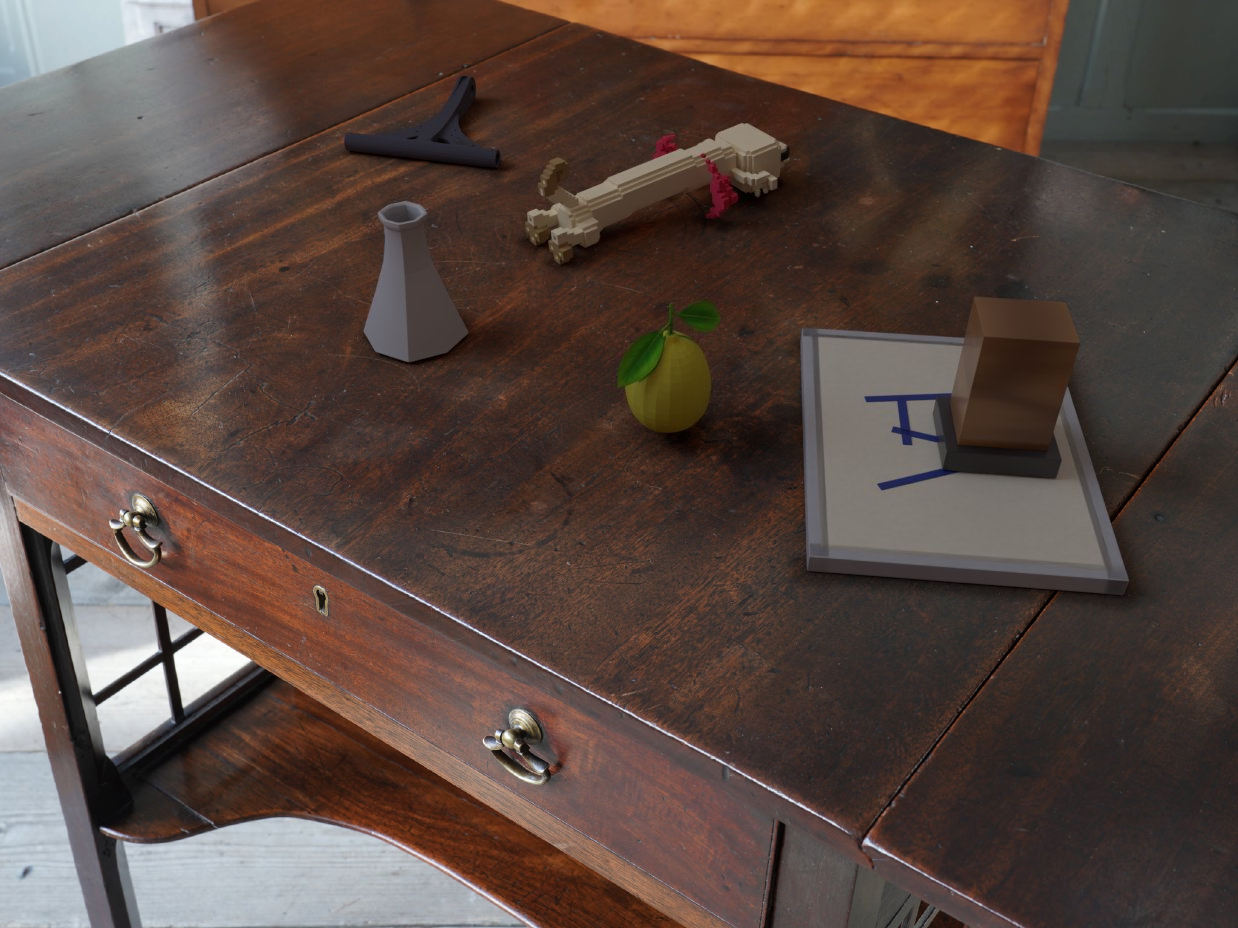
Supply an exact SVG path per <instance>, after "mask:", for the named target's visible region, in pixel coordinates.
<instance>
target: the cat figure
mask: <svg viewBox="0 0 1238 928" xmlns="http://www.w3.org/2000/svg"><path fill="white" fill-rule="evenodd" d="M673 140H676V135H675V134H667V135H663V136H661V139H658V140H657V141H656V142H655V147H656V148H655V153H654V154H653V155H652V159H651V160H648V161H646V162H643V163H641V164H638V165H636V166H633V167H631V168H629V169H626V170H623V171H621V172H618V173H616V174H613V175H611V176H608V177H606V179H605V180H604V181H603V182H602V183H600V184H597V185H594V186H592V187H590V188H588V189H585V190H582V191H579V192H577V193H576V194H575V195H574V194H573V193H571V192H569V191H567V190H566V189H564V188H563V187H561V182H562V181H565V180H567V179H568V177H567V176H568V175H570V163H569V162H567V161H566V160H564V159H563V158H561V157H560V156H558V157H555V158H552V159H550V160H548V164H546V165H545V168H544V169H543V170H542V174H540V175H539V177H540V182H537V187H538V188H537V189H538V194H539V195H540V196H542V197H543V198H545V199H547V200H548V201H550V202H552V203H554V204H553V205H552V206H551V207H550V209H549V210H545V209H541V210H539V209H537V208H535V209H532V210H530V211H529V210H528V211H527V212H526V217H527V220H526V221H525V222H524V229H525V233H526V234H528V235H529V240H530V242H531V243H532V244H533V245H534V246H536V247H537V246H539V245H542V244H544V243H546V240H547V242H548V249H549V250H548V251H549V252H551V253H552V254H553V260H554V261H555V262H556V263H557V264H558V265H563V264H566V263H568V262H570V261H571V259H573V258H574V252H573V247H574V246H576V245H579V246H580V247H581V246H582V247H583V248H584V249H586V248H588V247H590V246H593V245H595V244H597V243H598V242H599V241H600V239H601V233H600V232H602V230H604V228H607V227H609V226H611V225H614V224H617V223H619V222H622V221H623V220H626V219H628V218H630V216H632V215H633V214H634V213H635V212H637V211H639V210H642V209H644V208H647V207H650V206H651V205H654V204H656V203H658V202H661V201H664V200H666V199H668V198H671V197H673V196H676V195H677V194H681V193H682V194H683V195H686V194H688V193H690V192H692V191H695V190H698V189H699V188H703V187H704V186H707V185H709V193H710V194H712V195H711V197H712V199H711V200H712V204H713V205H714V206H711V207H709V213H706V214H705V218H706V219H707V220H709V219H711V220H713V219H716V217H718V218H720V217H722V216H723V212H725V211H727V210H729V209H730V206H732V205H734V204H736V203H737V202H738V201H739V194H738V193H736V192H734V188H737V189H739V190H740V191H742V192H743V193H745V194H746V193H750V194H753V193H754V197H756V198H759V197H760V196H761V190H762V193H764V194H768V193H769V190H770V191H774V190H776V189H778V178H780V176H781V169H782V168H784V167H785V164H787V163H789V162H790V160H791V159H790V146H788V145H787V144H785V143H784V142H783V141H779V140H777V139H776V138H775V137H773V136H771V135H769V134H768V133H766V132H764V131H763V130H760V129H759V128H756V127H755V126H753V125H752V124H751V123H747V122H746V123H743V122H741V123H739V124H736V125H734V126H731V127H728V128H726V129H724V130H721V131H718V132H717V133H716V134H715V136H714V140H713V139H712V138H707V139H704V140H703V141H702V142H699V143H697V144H696V145H694V146H692V147H689V148H687V149H683V148H679V147H677V143H676V142H672V141H673ZM671 142H672V143H671ZM732 186H733V187H732ZM553 226H554V227H556V228H554V229H552V230H551V231H550V235H551V239H550V237H549V236H550V235H549V228H552V227H553ZM549 239H550V240H549Z"/></svg>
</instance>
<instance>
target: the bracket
mask: <svg viewBox="0 0 1238 928" xmlns="http://www.w3.org/2000/svg"><path fill="white" fill-rule="evenodd" d="M476 83H477V82H476V79H475V78H474V76H468V75H459V76H458V77H457V79H456V82H455V84H454V86H453V88H452V90H451V92H450V94H449V97H448V98H447V100H446V102H445V104H444V105H443V107H442V109H441V111H440V112H438V113H437V114H435V115H433V116H432V117H430V118H429V119H426V120H425V121H422V122H421V123H419V124H417V125H416V124H415V125H413V126H410V127H406V128H403V129H399V130H396V131H391V132H385V133H378V134H367V133H358V132H351V131H350V132H349V131H347V132H346V133H345V135H344V140H343V145H344V149H345V150H346V151H349V152H357V153H367V154H374V155H383V156H391V157H398V158H407V159H416V160H422V161H423V160H425V161H433V162H440V163H448V164H449V163H450V164H457V165H458V164H459V165H465V166H474V167H483V168H491V169H498V168H499V166H500V164H501V151H500V150H499V149H495V148H488V147H483V146H481V145H479V144H477V143H476V142H474V141H473V140H471V139H470V138H469V137H468V136H466V135H465V133H463V132H462V129H461V127H460V124H459V123H460V120H461V119H462V118H463V116H465V114H466V113H467V111H469V109H470V108H471V106H472V105H473V104H474V102H475V99H476V96H477V95H476V93H477V84H476Z"/></svg>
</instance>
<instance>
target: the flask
mask: <svg viewBox="0 0 1238 928" xmlns="http://www.w3.org/2000/svg"><path fill="white" fill-rule="evenodd" d="M428 214H429V213H428V212H427V211H426V210H425V208H424V207H423V205H422V204H418V203H415V202H411V201H408V200H404V201H400V202H394V203H390V204H387V205H386V206H385V207H383V208H382V209H380V210H379V211H377V217H378V219H379V221H380V223H381V224H382V226H383V231H384V248H383V261H382V266H381V268H380V269H381V270H380V273H379V277H378V281H377V284H376V288H375V291H374V296H373V299H372V302H371V305H370V308H369V311H368V314H367V317H366V321H365V325H364V328H363V333H364V335H365V337H366V338H367V340H368V342H369V344H370V345H371V347H372V348H373V350H374V352H376V353H378V354H382V355H385V356H388V357H390V358H394V359H396V360H400V361H403V362H407V363H412V362H415V361H416V362H417V361H420V360H423V359H428V358H431V357H435V356H439V355H443V354H446V353H448V352H450V351H451V350H452V349H453V348H454V347H455V346H456V345H457V344H458V343H459V342H461V341H462V339H463V338H465V337H466V336H467V335H468V334H469V330H468V329H467V327H466V325H465V323H464V321H463V319H462V317H461V316H460V313H459V311H458V309H457V308H456V306H455V304H454V301H453V300H452V298H451V297H450V295H449V293H448V291H447V288H446V287H445V285H444V283H443V280H442V278H441V276H440V274H439V272H438V270H437V268H436V266H435V264H434V261H433V258H432V256H431V252H430V249H429V246H428V242H427V238H426V230H425V229H426V228H425V222H427V221H428V218H429V215H428Z"/></svg>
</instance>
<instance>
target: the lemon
mask: <svg viewBox="0 0 1238 928" xmlns="http://www.w3.org/2000/svg"><path fill="white" fill-rule="evenodd" d="M668 306H669V309H668V315H669V316H668V319H669V320H668V322H667V324H666V325H665V326H664V327H662V328H661V329H659V330H654V331H652V332H651V331H650V332H647V333H645V334H643V335H640V337H638V338H637V339H636V340H634V341H633V342H632V343H631V345H630V346H629V348H627V350H626V352H625V353H624V354H623V357H622V360H621V361H620V364H619V366H618V369H617V388H619V389H620V388H623V387H624V391H625V397H626V401H627V404H628V407H629V409H630V411H631V413H632V414H633V416H634V417H635V418H636V420H637V421H638V422H639V423H640V424H641V425H643V426H644V427H645V428H647V429H648V430H650V431H653V432H657V433H664V434H665V433H666V434H669V433H670V434H671V433H679V432H682V431H685V430H688V429H690V428H691V427H693V426H694V425H695V424H696V423H697V422H698V421H700V419H701V418H702V417H703V416H704V415H705V413H706V411H707V408H708V407H709V402H710V396H711V391H712V375H711V371H710V367H709V364H708V361H707V359H706V355H705V354H704V351H703V350H702V349H701V347H700V346H699V344H698V343H697V342H696V341H695V340H694V339H693V338H692V337H690V336H689V335H687V334H685V333H684V332H680V331H676V330H674V315H676V316H677V317H678V318H680V319H681V320H682V321H683V322H684V323H685V324H686V325H688V326H689V327H691V328H692V329H693V330H695V331H698V332H701V333H705V334H706V333H711V332H713V331H714V330H716V329H717V327H718V325H719V323H720V322H721V320H722V317H721V316H720V313H719V311H718V309H717V307H716V306H715V304H713V302H711V301H709V300H700V301H699V300H698V301H696V302H693V303H690V304H689V305H687V306H686V307H685V308H683V309H682V310H680V311H679V312H677V311H674V302H669V305H668ZM667 328H668V330H666V329H667Z"/></svg>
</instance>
